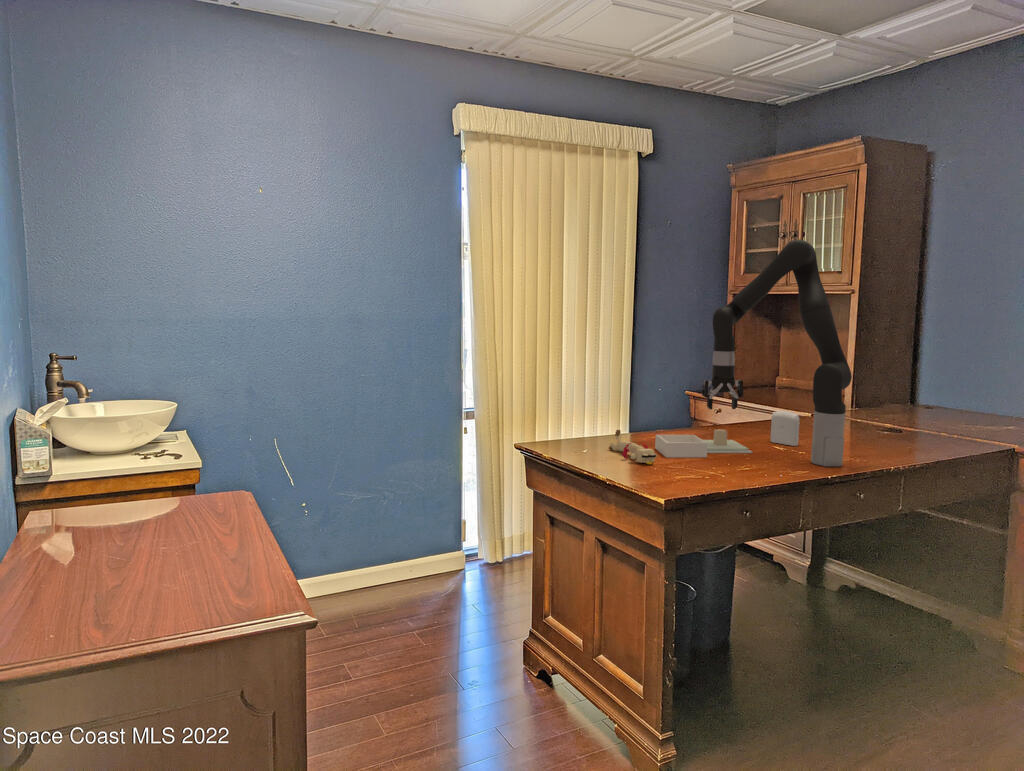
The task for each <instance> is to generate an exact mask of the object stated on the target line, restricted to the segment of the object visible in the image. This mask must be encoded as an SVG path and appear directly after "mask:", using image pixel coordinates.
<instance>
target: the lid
mask: <svg viewBox="0 0 1024 771" xmlns="http://www.w3.org/2000/svg"><path fill="white" fill-rule="evenodd" d="M703 440H704V441H705V442H707V443H708V444H707V451H748V450H749V448H748V447H746V446H745V445H743V444H742V443H739V442H737V441H735V440H734V439H728V431H727V430H726V429H724V428H723V429H719V428H718V429H713V439H703Z"/></svg>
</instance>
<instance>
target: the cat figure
mask: <svg viewBox="0 0 1024 771" xmlns="http://www.w3.org/2000/svg"><path fill="white" fill-rule="evenodd" d="M621 432H622V431H621V429H616V430H615V434H614V436H615V439H616V440H617V442H615V444H614V443H613V442H610V444H609V446H608V450H610V451H611V452H612V451H618V452H621V455H622V457H623V458H624V459H625V460H628V461H629V460H630V459H632V460H634V463H640V464H642V463H645V464H646V465H652V464H653V463H654V462H655V460H656V458H657V457H658V454H657V453H655V452H656V451H655V450H654V449H652V448H649V447H648V445H646V444H645V443H644V442H642V441H641V442H640V444H642V445H643V446H642V445H638V443H635V442H630V441H622V439H621V437H620V435H621V434H622V433H621ZM628 453H630V458H629V459H628Z"/></svg>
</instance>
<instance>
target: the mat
mask: <svg viewBox="0 0 1024 771" xmlns="http://www.w3.org/2000/svg"><path fill="white" fill-rule="evenodd" d="M707 454H753V451H752V450H749V449H748V451H707Z"/></svg>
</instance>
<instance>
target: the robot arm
mask: <svg viewBox="0 0 1024 771" xmlns="http://www.w3.org/2000/svg"><path fill="white" fill-rule="evenodd" d="M791 272H792V273H793V276H794V278H795V281H796V284H797V285H796V286H797V288H798V289H797V290H798V292H797V294H798V309H799V314H800V317H801V321H802V326H803V327H804V330H805V332H806V333H807V335H808V337H809V339H810V340H811V342H812V343H813V344H814V346H815V347H816V349H817V351H818V354H819V357H820V360H821V365H820V366H819V365H818V367H817V368H816V370H815V372H814V374H813V382H812V383H813V384H812V403H813V405H814V410H813V412H814V413H813V426H812V442H811V453H810V454H811V456H810V462H811V463H812V464H814V465H818V466H822V467H843V458H844V446H845V438H844V433H845V422H846V421H845V419H846V408H847V407H846V404H845V403H844V401H843V399H842V398H843V397H842V393H843V390H845V389H846V388H848V387H849V385H851V382H852V378H853V376H852V371H851V369H850V368H851V367H850V366H849V364H848V360H847V358H846V356H845V354H844V351H843V349H842V346H841V342H840V339H839V335H838V331H837V328H836V324H835V320H834V315H833V312H832V309H831V305H830V302H829V299H828V297H827V293H826V291H825V288H824V285H823V283H822V280H821V278H820V271H819V266H818V260H817V253H816V250H815V248H814V247H813V245H812V244H810V243H809V242H808V241H806V240H804V239H798V238H797V239H793V240H791V241H789V242H788V243H787V244H786V245H785V246H784V247H783V248H782V249H781V251H780V252H778V254H777V255H776V256H775V257H774V259H773V260H772V261H771V262H770V263H769V264H768V266H766V267H764V269H763V271H761V272H760V273H759V274H758V275H757V276H756V277H755V278H754V279H753V280H751V281H750V282H749V283H748V284H747V285H746V286H744V287H743V288H742V289H741V290H740V291H739V292H737V293H736V295H735V296H734V297H733V299H732V300H731V301H730V302H729V303H728V304H727V305H725V306H724V307H719V308H717V309H716V310H715V311H714V312H713V315H712V330H713V336H714V337H713V338H714V340H713V355H712V369H711V370H712V372H711V374H712V375H711V376H712V377H711V378H712V379H711V380H707V379H703V380H702V388H701V396H702V397H704V398H706V407H707V408H708V410H713V401H714V400H713V398H714V396H715V395H717V393H729V394H730V395H731V397H732V398H731V409H732V410H736V408H738V402H739V401H738V399H739V398H743V397H744V381H743V380H742V379H737V380H735V370H736V368H735V366H736V353H735V346H736V344H735V343H736V341H735V340H736V339H735V336H734V335H733V326H734V325H735V324H737V323H738V322H739V321H740V320H741V319H742V318H743V317H744V316H745V315H746V314H747V313H748V311H750V310H751V309H753V307H755V306H756V305H757V304H758V303H760V302H761V301H762V300H763V299H764V298H765V297H766V296H767V295H768V294H769V293H770V291H771V290H772V289H773V287H774V286H775V285H776V284H777V283H778V282H780V280H781V279H783V277H785V276H786V275H787V274H788V273H791ZM710 386H712V388H711V389H710V390H709V387H710ZM734 386H736V387H737V388H736V390H737V391H736V390H735V389H734V388H733V387H734ZM708 392H709V393H708Z"/></svg>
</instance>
